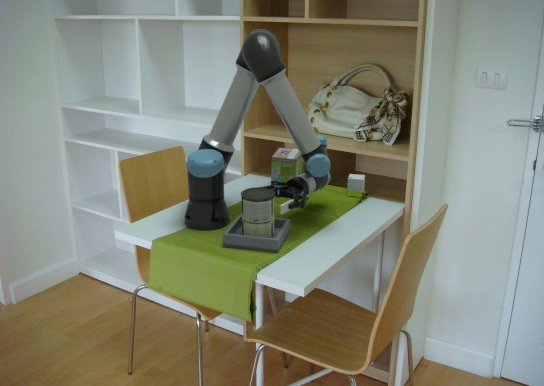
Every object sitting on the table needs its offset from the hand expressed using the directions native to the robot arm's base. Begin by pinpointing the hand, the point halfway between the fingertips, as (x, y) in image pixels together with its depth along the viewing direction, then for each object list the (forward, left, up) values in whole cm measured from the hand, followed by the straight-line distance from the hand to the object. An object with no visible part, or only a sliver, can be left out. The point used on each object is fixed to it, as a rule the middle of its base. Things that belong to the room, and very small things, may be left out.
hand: (262, 205), depth 174 cm
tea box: (-3, +47, -11) cm, 49 cm away
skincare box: (+24, +47, -11) cm, 54 cm away
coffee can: (-1, -1, -10) cm, 10 cm away
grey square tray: (-1, -2, -11) cm, 11 cm away
